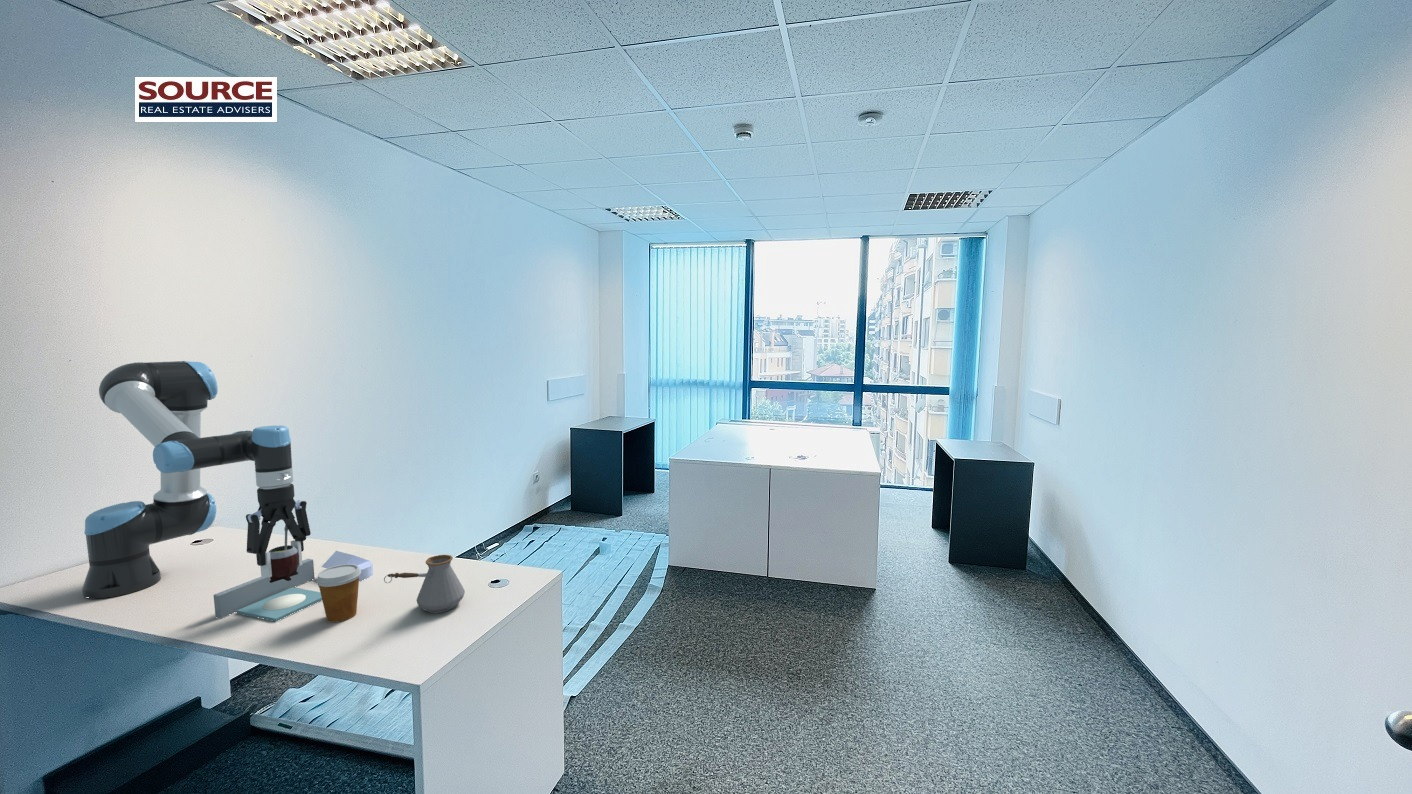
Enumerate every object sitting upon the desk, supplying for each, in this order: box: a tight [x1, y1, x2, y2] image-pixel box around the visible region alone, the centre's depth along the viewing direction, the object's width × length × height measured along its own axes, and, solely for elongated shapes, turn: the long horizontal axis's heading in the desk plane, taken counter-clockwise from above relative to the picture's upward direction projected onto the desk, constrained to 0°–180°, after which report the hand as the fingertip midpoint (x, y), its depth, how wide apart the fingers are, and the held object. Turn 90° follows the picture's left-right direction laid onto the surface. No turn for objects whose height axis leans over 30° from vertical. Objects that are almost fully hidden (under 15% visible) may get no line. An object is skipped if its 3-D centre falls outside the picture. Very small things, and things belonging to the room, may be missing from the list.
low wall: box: [212, 558, 316, 619], centre depth 147 cm, size 2×24×6 cm, turn 163°
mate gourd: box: [268, 523, 299, 583], centre depth 142 cm, size 8×8×15 cm
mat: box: [236, 587, 322, 622], centre depth 143 cm, size 14×14×1 cm
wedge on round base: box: [321, 550, 374, 582], centre depth 161 cm, size 9×7×13 cm
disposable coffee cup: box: [315, 564, 361, 623], centre depth 137 cm, size 10×10×12 cm
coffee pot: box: [383, 554, 466, 614], centre depth 137 cm, size 21×12×15 cm, turn 161°
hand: (282, 570), depth 142 cm, fingers closed on mate gourd, 7 cm apart
